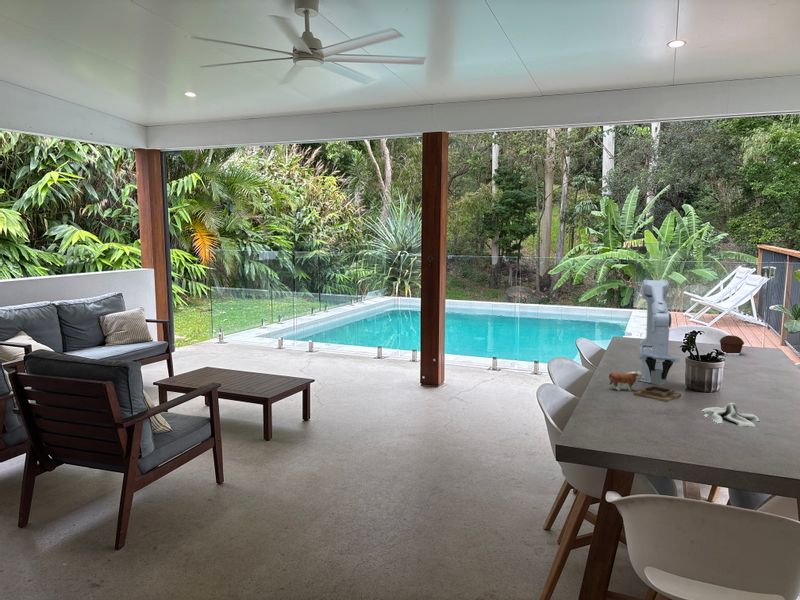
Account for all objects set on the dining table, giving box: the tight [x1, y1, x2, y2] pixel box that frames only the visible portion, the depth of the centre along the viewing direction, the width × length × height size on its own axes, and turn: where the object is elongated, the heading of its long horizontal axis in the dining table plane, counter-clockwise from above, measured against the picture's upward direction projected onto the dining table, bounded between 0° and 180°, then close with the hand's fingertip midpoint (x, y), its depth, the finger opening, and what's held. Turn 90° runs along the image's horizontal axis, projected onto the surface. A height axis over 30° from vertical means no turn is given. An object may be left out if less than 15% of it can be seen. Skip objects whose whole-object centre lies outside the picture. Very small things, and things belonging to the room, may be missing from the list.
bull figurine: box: [608, 370, 644, 392], centre depth 233 cm, size 4×13×8 cm, turn 79°
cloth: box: [701, 402, 760, 428], centre depth 197 cm, size 22×19×6 cm
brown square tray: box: [633, 385, 682, 403], centre depth 226 cm, size 13×13×2 cm
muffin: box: [719, 334, 745, 353], centre depth 310 cm, size 12×11×10 cm
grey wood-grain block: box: [649, 369, 667, 386], centre depth 225 cm, size 5×4×5 cm
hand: (658, 377), depth 225 cm, fingers closed on grey wood-grain block, 4 cm apart
